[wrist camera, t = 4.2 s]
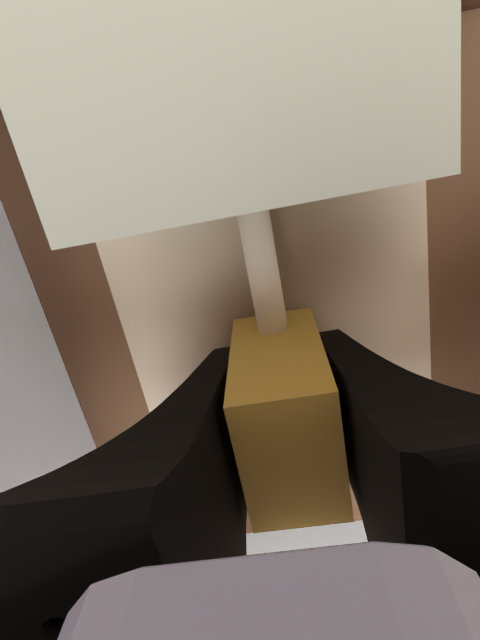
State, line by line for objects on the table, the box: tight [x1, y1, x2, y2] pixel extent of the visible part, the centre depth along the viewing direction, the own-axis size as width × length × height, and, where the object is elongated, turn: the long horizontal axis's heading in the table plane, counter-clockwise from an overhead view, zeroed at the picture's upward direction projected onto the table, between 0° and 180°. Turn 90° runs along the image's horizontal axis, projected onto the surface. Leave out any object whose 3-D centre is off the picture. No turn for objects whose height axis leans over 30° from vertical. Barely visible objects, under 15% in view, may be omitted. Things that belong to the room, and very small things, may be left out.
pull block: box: [0, 0, 461, 533], centre depth 8 cm, size 6×11×4 cm, turn 11°
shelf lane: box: [0, 0, 480, 533], centre depth 10 cm, size 12×22×4 cm, turn 11°
